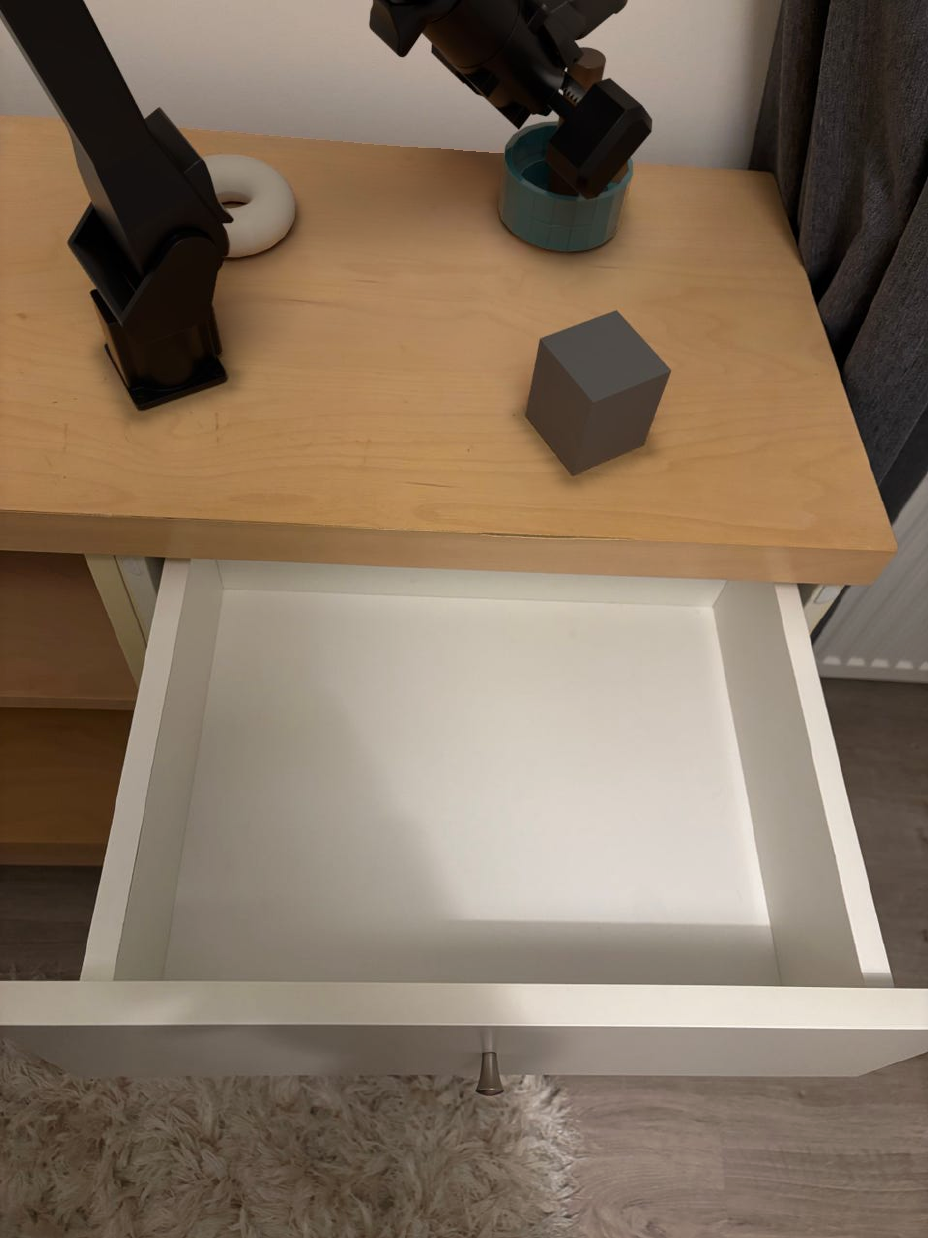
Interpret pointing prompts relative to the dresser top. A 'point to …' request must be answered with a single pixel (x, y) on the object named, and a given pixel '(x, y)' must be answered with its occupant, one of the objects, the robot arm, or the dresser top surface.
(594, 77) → the stick
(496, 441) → the dresser top surface
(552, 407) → the cube
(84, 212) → the robot arm
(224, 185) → the donut
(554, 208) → the bowl
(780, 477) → the dresser top surface
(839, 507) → the dresser top surface
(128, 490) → the dresser top surface
